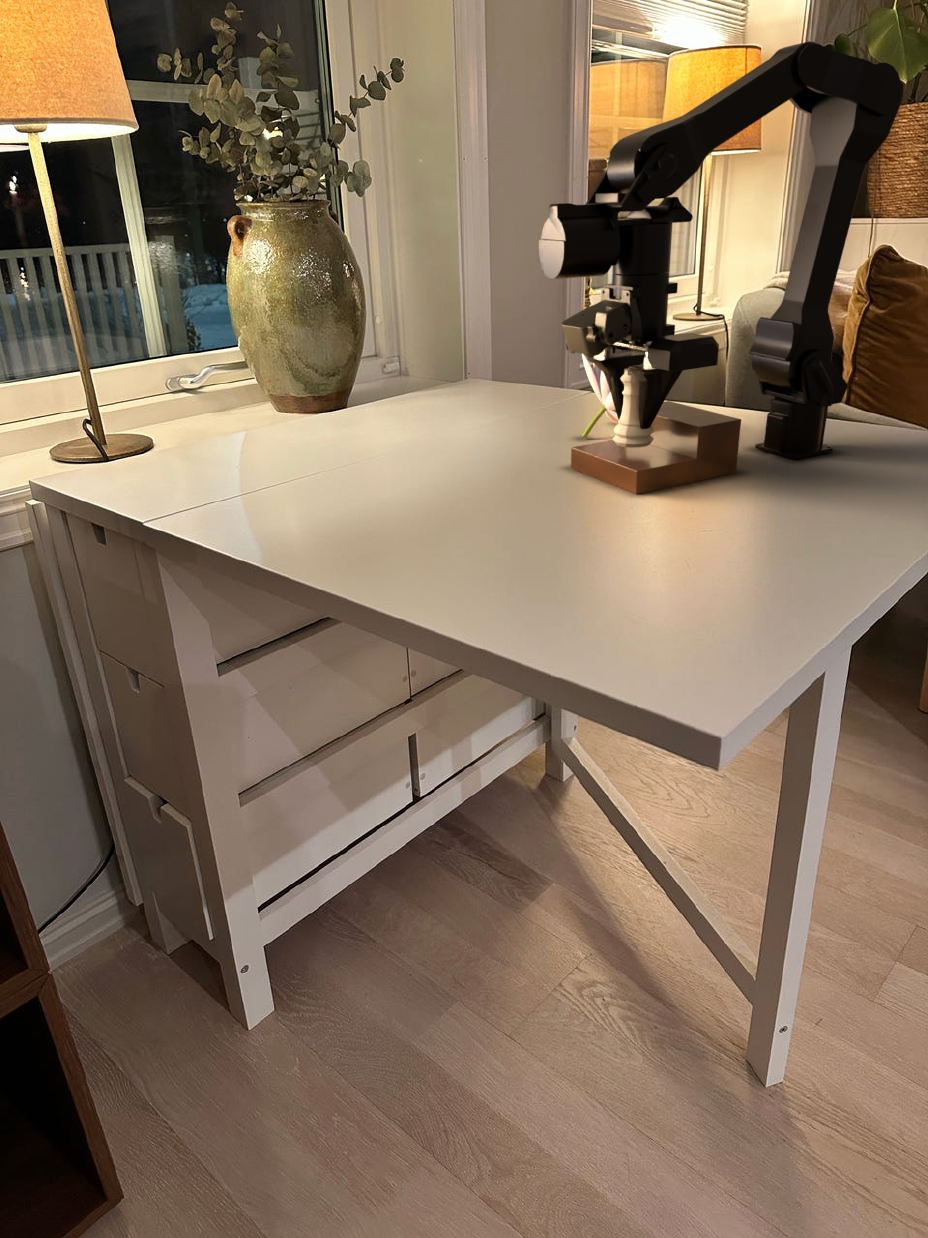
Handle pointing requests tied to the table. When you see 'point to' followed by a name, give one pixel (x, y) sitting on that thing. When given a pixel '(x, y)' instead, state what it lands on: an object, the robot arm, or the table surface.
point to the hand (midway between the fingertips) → (634, 425)
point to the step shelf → (666, 451)
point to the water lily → (600, 395)
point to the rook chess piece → (631, 416)
